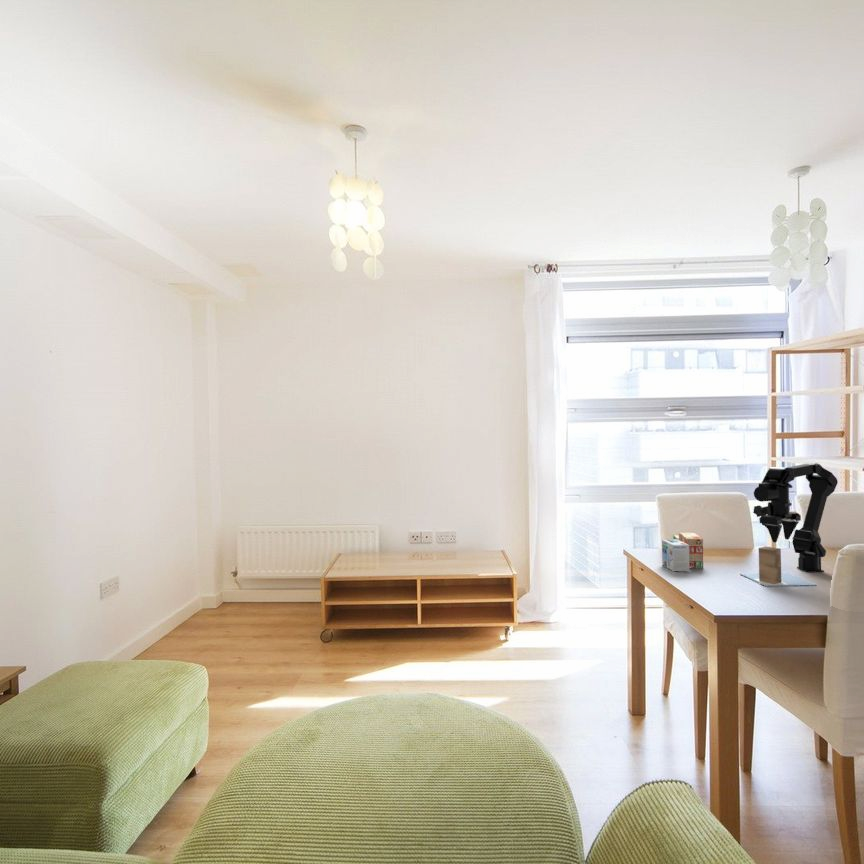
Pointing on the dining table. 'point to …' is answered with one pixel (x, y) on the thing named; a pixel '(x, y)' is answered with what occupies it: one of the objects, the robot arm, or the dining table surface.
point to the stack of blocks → (693, 548)
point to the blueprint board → (785, 580)
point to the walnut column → (770, 565)
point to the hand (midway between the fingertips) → (780, 540)
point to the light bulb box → (675, 555)
